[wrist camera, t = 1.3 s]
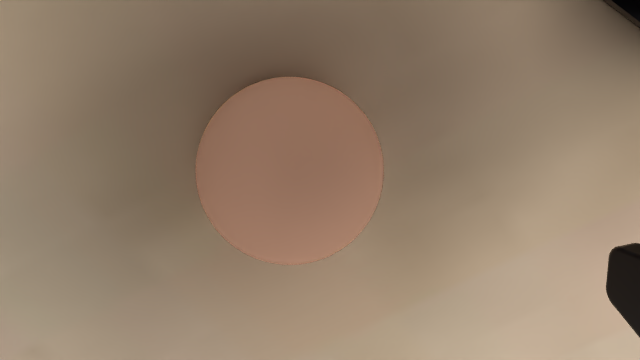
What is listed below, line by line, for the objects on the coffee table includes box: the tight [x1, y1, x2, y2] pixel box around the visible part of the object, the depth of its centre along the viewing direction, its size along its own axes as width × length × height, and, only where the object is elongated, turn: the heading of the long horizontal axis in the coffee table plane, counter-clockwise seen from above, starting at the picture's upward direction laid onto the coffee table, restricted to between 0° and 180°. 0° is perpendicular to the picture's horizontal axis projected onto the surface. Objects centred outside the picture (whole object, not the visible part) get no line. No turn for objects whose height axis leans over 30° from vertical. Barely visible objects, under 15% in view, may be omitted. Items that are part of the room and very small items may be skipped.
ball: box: [195, 77, 384, 265], centre depth 17 cm, size 6×6×6 cm
